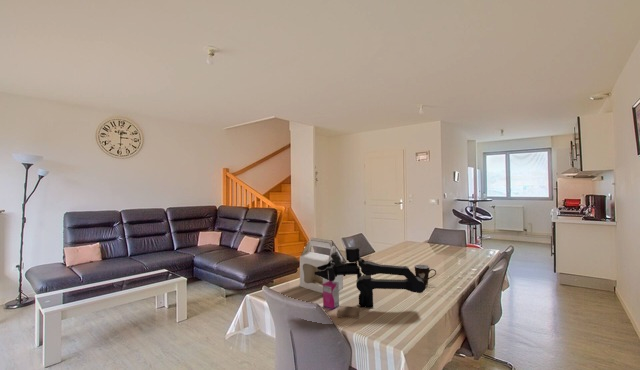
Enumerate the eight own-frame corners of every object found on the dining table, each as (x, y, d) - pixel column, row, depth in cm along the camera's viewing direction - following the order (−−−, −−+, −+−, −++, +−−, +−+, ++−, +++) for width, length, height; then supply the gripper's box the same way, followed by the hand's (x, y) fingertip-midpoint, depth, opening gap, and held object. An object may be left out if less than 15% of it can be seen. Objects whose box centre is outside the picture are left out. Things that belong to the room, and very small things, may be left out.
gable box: (299, 286, 174) (299, 238, 174) (314, 280, 184) (314, 235, 184) (328, 295, 160) (328, 243, 160) (343, 288, 170) (343, 239, 170)
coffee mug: (412, 283, 179) (411, 266, 179) (418, 279, 185) (418, 263, 185) (431, 287, 171) (431, 270, 171) (437, 283, 178) (436, 267, 178)
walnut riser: (358, 310, 140) (358, 307, 140) (358, 318, 132) (358, 315, 132) (339, 309, 142) (339, 305, 142) (337, 317, 133) (337, 314, 133)
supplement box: (329, 303, 149) (329, 280, 149) (339, 306, 145) (339, 282, 145) (322, 306, 145) (322, 283, 145) (332, 310, 141) (332, 285, 141)
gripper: (346, 248, 157) (317, 250, 159) (344, 256, 138) (311, 258, 141) (348, 269, 157) (319, 271, 159) (346, 281, 138) (313, 282, 140)
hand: (316, 270), depth 150 cm, fingers open, 9 cm apart
